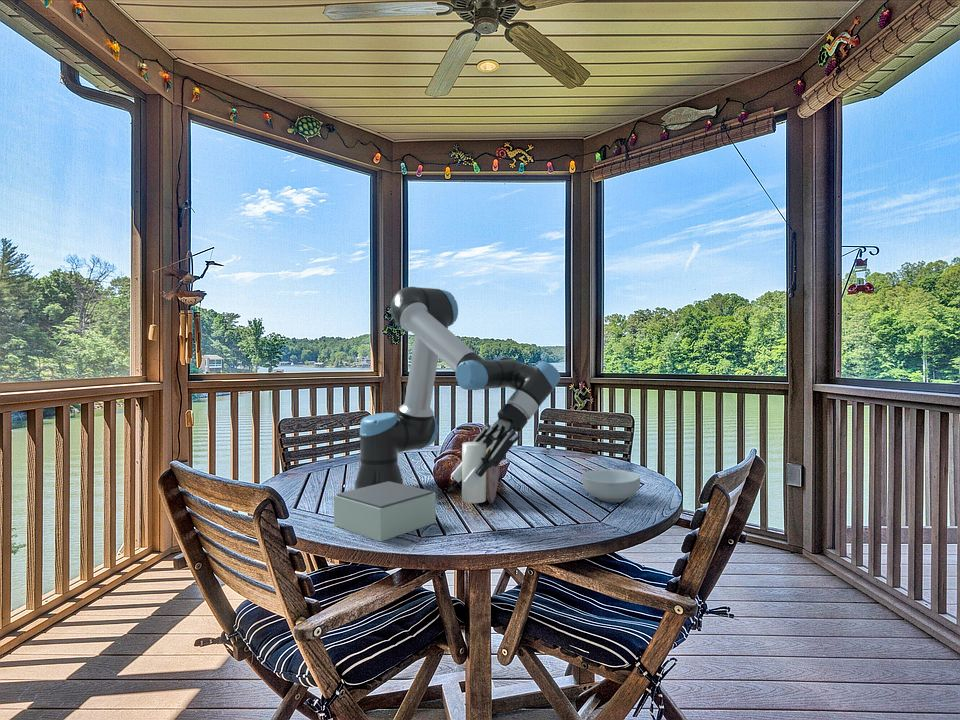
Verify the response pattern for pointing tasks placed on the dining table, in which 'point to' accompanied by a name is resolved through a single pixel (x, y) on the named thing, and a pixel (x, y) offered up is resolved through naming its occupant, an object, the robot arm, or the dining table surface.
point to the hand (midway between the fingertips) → (461, 481)
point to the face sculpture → (491, 481)
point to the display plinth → (384, 510)
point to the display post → (470, 459)
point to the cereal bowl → (611, 484)
